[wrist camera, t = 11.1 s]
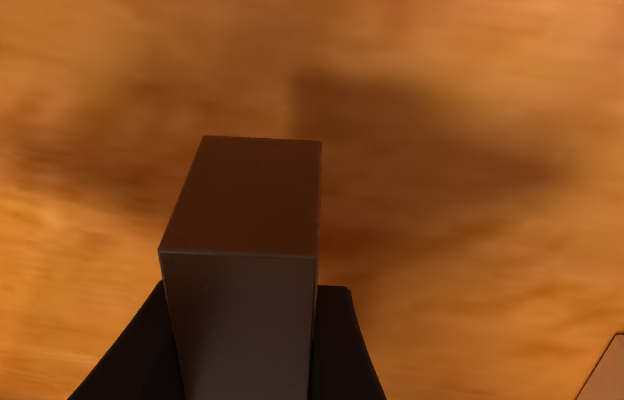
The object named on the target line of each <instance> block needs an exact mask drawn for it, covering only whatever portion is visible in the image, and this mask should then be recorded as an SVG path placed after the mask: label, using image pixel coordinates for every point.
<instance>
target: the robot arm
mask: <svg viewBox="0 0 624 400" xmlns="http://www.w3.org/2000/svg"><path fill="white" fill-rule="evenodd" d="M67 400H184V395H183V389H182V384H181V378H180V373H179V367H178V362H177V356H176V350H175V345H174V339H173V334H172V328H171V323H170V317H169V312H168V306H167V300H166V295H165V289H164V284H163V279H162V280H161V281H159V282H158V284H157V285H156V287H155V288H154V290H153V291H152V293H151V294H150V295H149V297H148V298H147V300H146V301H145V302H144V304H143V305H142V307H141V308H140V309H139V311H138V312H137V313H136V315H135V316H134V318H133V319H132V320H131V322H130V323H129V324H128V326H127V327H126V328H125V329H124V331H123V332H122V333H121V335H120V336H119V337H118V339H117V340H116V341H115V343H114V344H113V345H112V346H111V347H110V349H109V350H108V351H107V352H106V354H105V355H104V356H103V357H102V359H101V360H100V361H99V362H98V364H97V365H96V366H95V367H94V369H93V370H92V371H91V372H90V374H89V375H88V376H87V377H86V378H85V380H84V381H83V382H82V383H81V384H80V385H79V387H78V388H77V389H76V390H75V391H74V392H73V393H72V395H71V396H70V397H69V398H68V399H67ZM310 400H387V399H386V396H385V394H384V391H383V389H382V387H381V384H380V382H379V379H378V377H377V374H376V372H375V370H374V367H373V365H372V362H371V359H370V357H369V354H368V351H367V348H366V345H365V342H364V339H363V336H362V334H361V330H360V327H359V324H358V321H357V317H356V313H355V309H354V305H353V301H352V296H351V291H350V290H349V289H348V288H347V287H346V286H326V285H318V287H317V301H316V316H315V331H314V346H313V361H312V376H311V391H310Z"/></svg>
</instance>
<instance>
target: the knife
mask: <svg viewBox="0 0 624 400" xmlns="http://www.w3.org/2000/svg"><path fill="white" fill-rule="evenodd" d="M321 153H322V144H321V142H320V141H311V140H291V139H270V138H250V137H229V136H209V135H205V136H203V137H202V140H201V142H200V145H199V147H198V150H197V152H196V155H195V157H194V160H193V162H192V165H191V167H190V170H189V172H188V175H187V177H186V180H185V182H184V185H183V187H182V190H181V192H180V195H179V197H178V200H177V202H176V205H175V207H174V210H173V212H172V215H171V217H170V220H169V222H168V225H167V227H166V230H165V232H164V235H163V237H162V240H161V242H160V245H159V247H158V256H159V261H160V267H161V273H162V278H163V284H164V289H165V295H166V300H167V306H168V312H169V317H170V323H171V328H172V334H173V339H174V345H175V350H176V356H177V362H178V367H179V373H180V378H181V384H182V389H183V395H184V400H310V391H311V376H312V361H313V346H314V331H315V316H316V301H317V287H318V272H319V254H320V204H321Z"/></svg>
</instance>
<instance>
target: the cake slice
mask: <svg viewBox="0 0 624 400" xmlns="http://www.w3.org/2000/svg"><path fill="white" fill-rule="evenodd" d="M576 400H624V335H616V336H615V338H614V339H613V341H612V343H611V344H610V346H609V347H608V349H607V351H606V352H605V354H604V355H603V357H602V359H601V360H600V362H599V364H598V365H597V367H596V368H595V370H594V372H593V373H592V375H591V377H590V378H589V380H588V381H587V383H586V385H585V386H584V388H583V389H582V391H581V393H580V394H579V396H578V398H577V399H576Z"/></svg>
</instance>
